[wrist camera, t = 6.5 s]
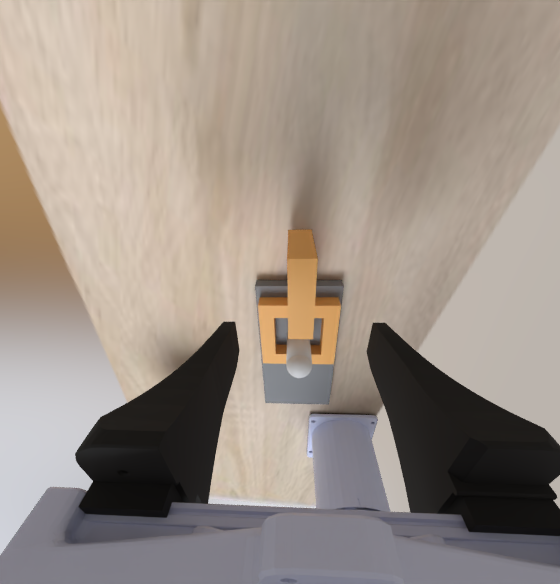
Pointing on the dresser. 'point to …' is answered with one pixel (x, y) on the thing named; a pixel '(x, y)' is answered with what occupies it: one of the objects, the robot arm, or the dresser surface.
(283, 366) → the keeper board
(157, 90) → the dresser surface
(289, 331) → the orange loop handle block
